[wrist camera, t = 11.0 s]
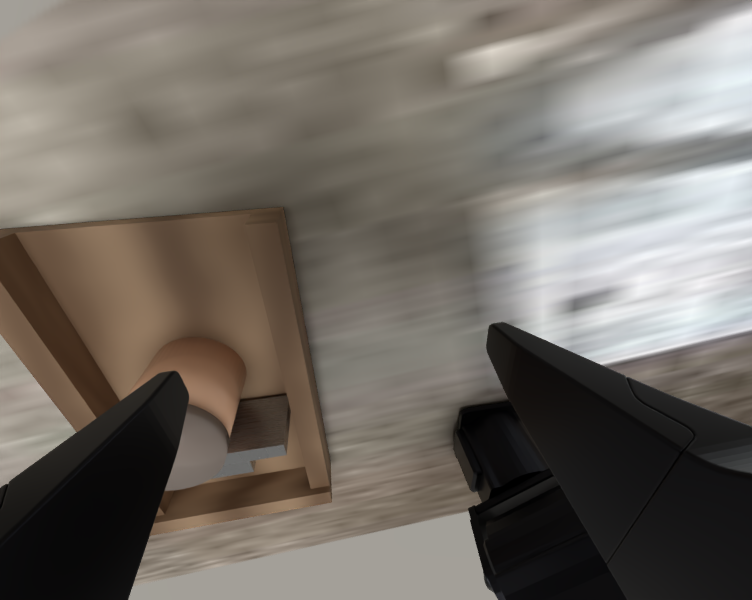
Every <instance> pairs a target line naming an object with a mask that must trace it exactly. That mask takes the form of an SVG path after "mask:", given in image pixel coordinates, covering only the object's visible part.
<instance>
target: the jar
mask: <svg viewBox="0 0 752 600" xmlns="http://www.w3.org/2000/svg"><path fill="white" fill-rule="evenodd" d="M173 370H174V371H177V372H178V373H179V374H180V376H181V378H182V380H183V382H184V384H185V386H186V388H187V390H188V392H189V403H188V407H187V412H186V416H185V421H184V426H183V430H182V435H181V440H180V444H179V448H178V452H177V455H176V458H175V462H174V465H173V468H172V471H171V474H170V477H169V479H168V482H167V485H166V488H165V491H170V490H180V489H186V488H190V487H194V486H197V485H200V484H202V483H204V482H206V481H208V480H210V479H211V478H213V477H214V476H215V475H216V474H217V473H218V472H219V471H220V470H221V469H222V467H223V465H224V463H225V460H226V456H227V452H228V449H229V444H230V439H229V438H230V434H231V431H232V427H233V424H234V420H235V416H236V413H237V409H238V406H239V402H240V399H241V395H242V391H243V388H244V384H245V381H246V375H247V372H246V367H245V364H244V362H243V360H242V359H241V357H240V356H239V355H238V354H237V353H236V352H235V351H234V350H233V349H231V348H230V347H228V346H227V345H225V344H223V343H221V342H218V341H215V340H212V339H208V338H201V337H186V338H181V339H177V340H174V341H172V342H169V343H168V344H166V345H164V346H163V347H162V348H161V349H160V350H159V351H158V352H157V353H156V355H155V356H154V357H153V359H152V360H151V362H150V363H149V365H148V366H147V368H146V369H145V370H144V372H143V373H142V375H141V376H140V378H139V379H138V381H137V382H136V383H135V385H134V386H133V388H132V389H131V391H130V392H129V393H128V395H129V394H131V393H132V392H133V391H135V390H136V389H138V388H139V387H140V386H142V385H143V384H144V383H146V382H147V381H149V380H150V379H151V378H153V377H154V376H155V375H157V374H158V373H161V372H166V371H173ZM128 395H127V396H128Z"/></svg>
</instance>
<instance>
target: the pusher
mask: <svg viewBox="0 0 752 600" xmlns="http://www.w3.org/2000/svg"><path fill="white" fill-rule="evenodd" d="M290 416H291V409H290V405H289V401H288V397H287V395H285V396H278V397H271V398H264V399H257V400H250V401H243V402H239V406H238V409H237V413H236V416H235V420H234V424H233V427H232V431H231V434H230V438H229V439H230V444H229V449H228V452H227V456H226V460H225V463H224V465H223V467H222V469H221V470H220V471H219V472H218V473H217V474H216V475H215V476H214V477H213V478H211V479H214V478H220V477H226V476H232V475H238V474H244V473H250V472H254V469H255V464H256V460H259V459H265V458H272V457H278V456H284V455H287V447H288V436H289V426H290Z"/></svg>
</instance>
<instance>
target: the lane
mask: <svg viewBox="0 0 752 600" xmlns="http://www.w3.org/2000/svg"><path fill="white" fill-rule="evenodd" d="M0 334H1V335H2V337H3V338H4V339H5V341H6V342H7V343H8V344H9V346H10V347H11V348H12V350H13V351H14V352H15V353H16V355H17V356H18V357H19V359H20V360H21V361H22V362H23V364H24V365H25V366H26V368H27V369H28V370H29V371H30V373H31V374H32V375H33V377H34V378H35V379H36V380H37V382H38V383H39V384H40V386H41V387H42V388H43V389H44V391H45V392H46V393H47V395H48V396H49V397H50V398H51V400H52V401H53V402H54V404H55V405H56V406H57V407H58V409H59V410H60V411H61V413H62V414H63V415H64V416H65V418H66V419H67V420H68V422H69V423H70V424H71V425H72V427H73V428H74V429H75V431H76V432H78V431H80V430H81V429H82V428H84V427H85V426H86V425H88V424H89V423H91V422H92V421H93V420H95V419H96V418H97V417H99V416H100V415H102V414H103V413H104V412H106V411H107V410H109V409H110V408H111V407H113V406H114V405H115V404H117V403H118V402H120V401H121V400H122V399H124V398H125V397H126V396H127V395H128V393H129V392H130V391H131V389H132V388H133V386H134V385H135V383H136V382H137V381H138V379H139V378H140V376H141V375H142V373H143V372H144V370H145V369H146V368H147V366H148V365H149V363H150V362H151V360H152V359H153V357H154V356H155V355H156V353H157V352H158V351H159V350H160V349H161V348H162V347H163V346H164V345H166V344H168V343H169V342H172V341H174V340H177V339H181V338H186V337H201V338H208V339H212V340H215V341H218V342H221V343H223V344H225V345H227V346H228V347H230V348H231V349H233V350H234V351H235V352H236V353H237V354H238V355H239V356H240V357H241V359H242V360H243V362H244V364H245V367H246V372H247V375H246V381H245V384H244V388H243V391H242V395H241V399H240V402H243V401H250V400H257V399H264V398H271V397H278V396H285V395H287V397H288V401H289V405H290V409H291V416H290V426H289V436H288V447H287V455H284V456H278V457H272V458H265V459H259V460H256V464H255V469H254V472H250V473H244V474H238V475H232V476H226V477H220V478H214V479H210V480H208V481H206V482H204V483H202V484H200V485H197V486H194V487H190V488H186V489H180V490H170V491H164V494H163V497H162V500H161V503H160V506H159V509H158V512H157V515H156V518H155V521H154V524H153V527H152V530H151V533H150V536H151V535H156V534H161V533H167V532H172V531H178V530H183V529H189V528H194V527H200V526H205V525H211V524H216V523H222V522H227V521H233V520H238V519H243V518H249V517H254V516H260V515H265V514H271V513H276V512H282V511H287V510H293V509H298V508H304V507H309V506H315V505H320V504H326V503H331V502H332V491H331V462H330V457H329V451H328V446H327V441H326V435H325V430H324V424H323V419H322V414H321V408H320V403H319V397H318V392H317V387H316V381H315V376H314V370H313V365H312V360H311V354H310V349H309V344H308V338H307V333H306V327H305V322H304V317H303V311H302V306H301V300H300V295H299V290H298V284H297V279H296V273H295V268H294V263H293V257H292V252H291V246H290V241H289V236H288V230H287V225H286V219H285V214H284V209H283V207H276V208H264V209H251V210H238V211H225V212H213V213H200V214H187V215H174V216H162V217H149V218H136V219H123V220H110V221H98V222H85V223H72V224H59V225H47V226H34V227H21V228H8V229H0Z"/></svg>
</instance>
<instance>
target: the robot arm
mask: <svg viewBox="0 0 752 600" xmlns="http://www.w3.org/2000/svg"><path fill="white" fill-rule="evenodd" d="M486 349H487V353H488V355H489V358H490V360H491V362H492V364H493V366H494V369H495V371H496V373H497V375H498V378H499V380H500V382H501V384H502V386H503V389H504V391H505V393H506V395H507V397H508V398H509V400H510V402H504V403H498V404H492V405H485V406H479V407H473V408H466V409H463V410H462V411H461V412H460V415H459V423H458V429H457V431H456V433H455V441H454V451H455V455H456V458H457V459H458V461H459V464H460V466H461V469H462V471H463V474H464V476H465V479H466V481H467V483H468V486H469V488H470V490H471V491H472V492H478V494H479V497H480V499H481V501H482V503H480V504H478V505H477V506H475V505H474V506H472V507H470V508H468V510H469V514H470V518H471V520H470V522H471V526H472V530H473V534H474V537H475V541H476V545H477V549H478V553H479V556H480V560H481V564H482V568H483V573H484V580H485V583H486V586H487V587H488V589H489V590H491V591H492V592H494V593H495V595H496V596H497V598H498V600H752V426H749V425H747V424H744V423H741V422H739V421H736V420H734V419H731V418H728V417H726V416H723V415H720V414H718V413H715V412H713V411H710V410H707V409H705V408H702V407H700V406H697V405H694V404H692V403H689V402H687V401H684V400H682V399H679V398H677V397H674V396H672V395H669V394H667V393H664V392H662V391H660V390H657V389H655V388H652V387H650V386H648V385H645V384H643V383H641V382H639V381H636V380H634V379H632V378H630V377H625V375H623V374H620V373H618V372H616V371H614V370H611V369H609V368H607V367H605V366H602V365H600V364H598V363H595V362H593V361H591V360H589V359H586V358H584V357H582V356H580V355H577V354H575V353H573V352H571V351H568V350H566V349H564V348H561V347H559V346H557V345H555V344H552V343H550V342H548V341H546V340H543V339H541V338H539V337H536V336H534V335H532V334H530V333H527V332H525V331H523V330H521V329H518V328H516V327H514V326H512V325H509V324H507V323H505V322H500V323H493V324H491V325H490V326H489V329H488V336H487V343H486ZM188 403H189V392H188V390H187V388H186V386H185V384H184V382H183V380H182V378H181V376H180V374H179V373H178V372H177V371H174V370H173V371H166V372H161V373H158V374H157V375H155V376H154V377H153V378H151V379H150V380H149V381H147V382H146V383H144V384H143V385H142V386H140V387H139V388H138V389H136V390H135V391H133V392H132V393H131V394H129V395H128V396H126V397H125V398H124V399H122V400H121V401H120V402H118V403H117V404H115V405H114V406H113V407H111V408H110V409H109V410H107V411H106V412H104V413H103V414H102V415H100V416H99V417H97V418H96V419H95V420H93V421H92V422H91V423H89V424H88V425H86V426H85V427H84V428H82V429H81V430H80V431H78V432H77V433H75V434H74V435H73V436H71V437H70V438H68V439H67V440H66V441H64V442H63V443H62V444H60V445H59V446H57V447H56V448H55V449H53V450H52V451H51V452H49V453H48V454H46V455H45V456H44V457H42V458H41V459H39V460H38V461H37V462H35V463H34V464H33V465H31V466H30V467H28V468H27V469H26V470H24V471H23V472H22V473H20V474H19V475H17V476H16V477H15V478H13V479H12V480H11V481H10V482H9V484H5V485H3V486H2V487H1V488H0V600H128V598H129V595H130V592H131V589H132V586H133V583H134V580H135V577H136V574H137V572H138V569H139V566H140V563H141V560H142V557H143V554H144V551H145V548H146V545H147V542H148V539H149V536H150V533H151V530H152V527H153V524H154V521H155V518H156V515H157V512H158V509H159V506H160V503H161V500H162V497H163V494H164V491H165V488H166V485H167V482H168V479H169V477H170V474H171V471H172V468H173V465H174V462H175V458H176V455H177V452H178V448H179V444H180V440H181V435H182V430H183V426H184V421H185V416H186V412H187V407H188Z"/></svg>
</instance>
